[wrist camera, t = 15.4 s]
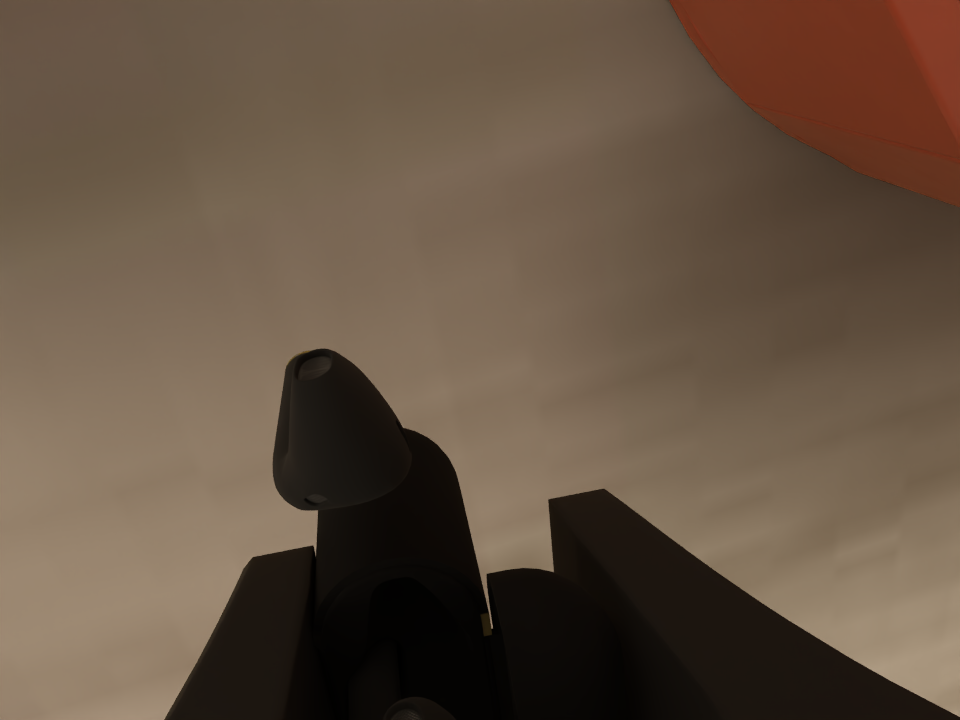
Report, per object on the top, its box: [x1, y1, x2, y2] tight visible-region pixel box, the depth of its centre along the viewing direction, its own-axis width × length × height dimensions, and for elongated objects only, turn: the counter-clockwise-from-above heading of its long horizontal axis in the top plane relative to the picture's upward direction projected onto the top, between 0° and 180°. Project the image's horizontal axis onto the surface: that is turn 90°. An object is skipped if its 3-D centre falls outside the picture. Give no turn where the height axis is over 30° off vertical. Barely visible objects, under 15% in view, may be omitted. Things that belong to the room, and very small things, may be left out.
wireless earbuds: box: [273, 349, 627, 720], centre depth 8 cm, size 7×2×5 cm, turn 7°
